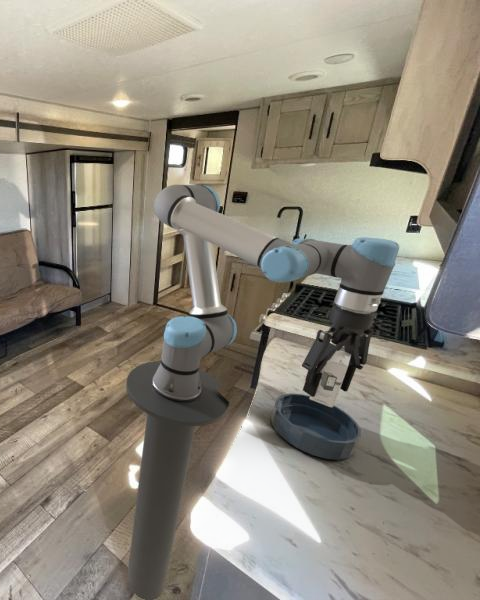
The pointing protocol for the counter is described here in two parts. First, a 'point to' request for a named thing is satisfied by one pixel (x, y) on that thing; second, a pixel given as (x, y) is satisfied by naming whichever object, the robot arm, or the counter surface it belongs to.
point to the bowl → (315, 427)
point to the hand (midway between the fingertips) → (324, 390)
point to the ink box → (332, 378)
